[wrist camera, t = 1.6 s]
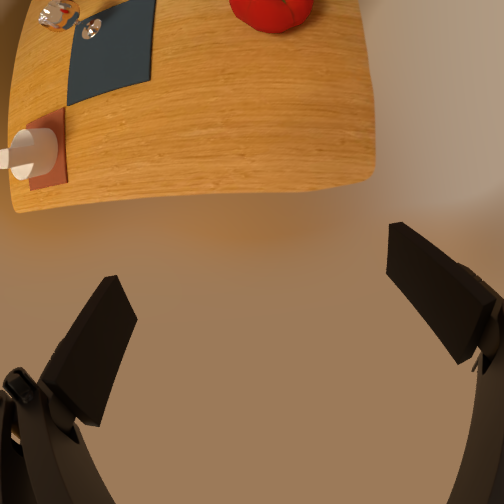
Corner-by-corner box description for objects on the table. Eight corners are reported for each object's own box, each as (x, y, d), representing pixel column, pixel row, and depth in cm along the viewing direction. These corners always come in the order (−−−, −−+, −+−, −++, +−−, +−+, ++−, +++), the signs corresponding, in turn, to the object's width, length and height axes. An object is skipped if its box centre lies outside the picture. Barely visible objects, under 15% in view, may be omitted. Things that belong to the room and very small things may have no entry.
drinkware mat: (77, 24, 27) (75, 23, 26) (157, -8, 25) (155, -9, 25) (68, 106, 33) (66, 106, 33) (150, 80, 32) (148, 79, 31)
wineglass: (106, 30, 27) (63, 9, 16) (80, 48, 29) (36, 34, 17) (102, 10, 26) (63, -11, 15) (78, 27, 27) (36, 12, 16)
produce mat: (27, 124, 34) (26, 124, 34) (64, 107, 33) (63, 107, 33) (31, 190, 40) (30, 191, 39) (68, 182, 38) (66, 182, 38)
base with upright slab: (60, 126, 34) (10, 128, 23) (57, 175, 38) (8, 188, 26) (32, 129, 34) (-13, 134, 23) (30, 174, 38) (-14, 186, 27)
